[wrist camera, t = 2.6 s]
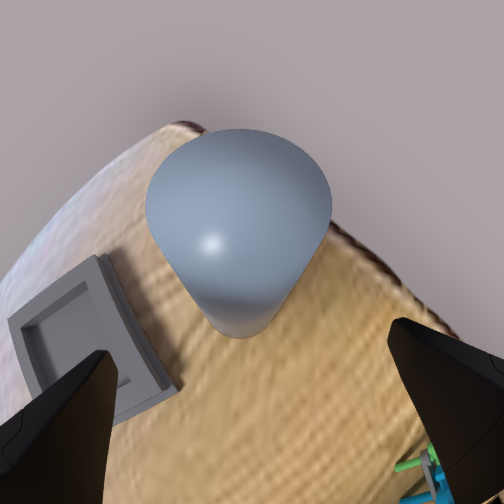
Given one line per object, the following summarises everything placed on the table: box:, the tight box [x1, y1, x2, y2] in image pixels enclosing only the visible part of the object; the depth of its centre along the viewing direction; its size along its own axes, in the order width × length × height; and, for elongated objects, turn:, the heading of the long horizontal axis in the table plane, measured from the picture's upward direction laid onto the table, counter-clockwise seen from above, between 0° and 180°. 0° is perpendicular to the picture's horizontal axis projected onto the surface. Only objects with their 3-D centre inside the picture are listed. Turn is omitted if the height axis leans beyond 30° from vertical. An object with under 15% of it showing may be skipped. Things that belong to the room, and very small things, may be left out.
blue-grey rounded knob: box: [145, 129, 332, 339], centre depth 13 cm, size 5×5×13 cm
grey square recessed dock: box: [7, 253, 180, 427], centre depth 16 cm, size 12×12×2 cm
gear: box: [395, 442, 455, 504], centre depth 10 cm, size 11×6×10 cm
